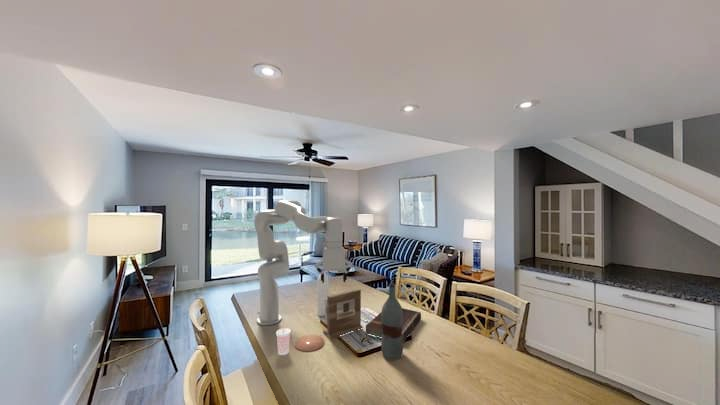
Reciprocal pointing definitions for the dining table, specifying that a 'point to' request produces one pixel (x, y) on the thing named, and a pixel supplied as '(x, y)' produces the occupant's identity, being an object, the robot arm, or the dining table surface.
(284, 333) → the beverage cup
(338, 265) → the robot arm
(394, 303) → the vodka
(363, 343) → the dining table surface
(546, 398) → the dining table surface
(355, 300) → the mount stand
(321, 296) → the water bottle
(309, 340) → the peach round disc
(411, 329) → the hardback book
